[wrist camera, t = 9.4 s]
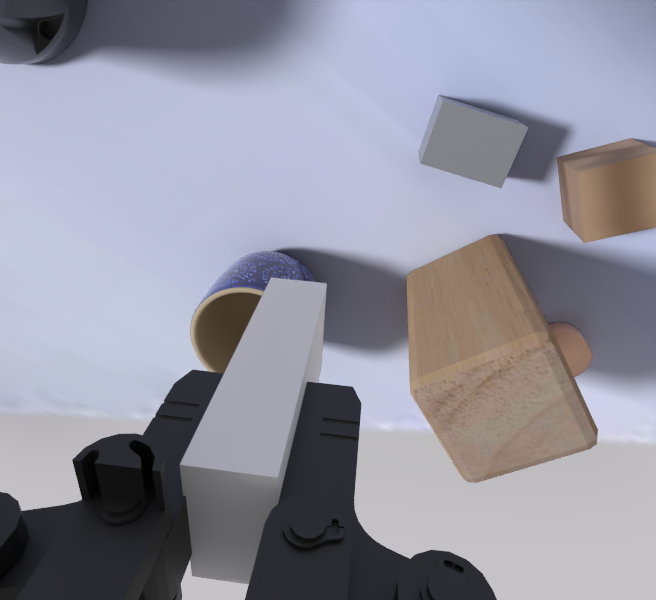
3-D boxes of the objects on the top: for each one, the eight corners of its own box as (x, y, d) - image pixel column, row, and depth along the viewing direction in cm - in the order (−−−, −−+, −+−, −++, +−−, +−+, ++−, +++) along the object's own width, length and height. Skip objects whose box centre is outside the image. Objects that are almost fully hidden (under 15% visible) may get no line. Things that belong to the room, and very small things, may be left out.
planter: (348, 284, 52) (335, 339, 42) (287, 348, 57) (264, 412, 47) (264, 218, 50) (231, 261, 40) (208, 291, 55) (166, 345, 45)
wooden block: (535, 309, 51) (608, 450, 33) (444, 346, 54) (466, 492, 36) (497, 227, 48) (554, 334, 30) (402, 271, 51) (404, 392, 33)
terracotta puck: (526, 360, 54) (533, 376, 51) (537, 319, 51) (545, 334, 49) (574, 365, 53) (583, 381, 51) (587, 324, 51) (598, 339, 48)
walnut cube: (563, 220, 47) (584, 242, 41) (556, 157, 44) (577, 172, 39) (633, 204, 45) (664, 225, 40) (630, 138, 43) (663, 151, 37)
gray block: (418, 151, 45) (420, 163, 41) (438, 95, 43) (442, 100, 39) (491, 174, 46) (501, 188, 41) (515, 118, 43) (528, 127, 39)
